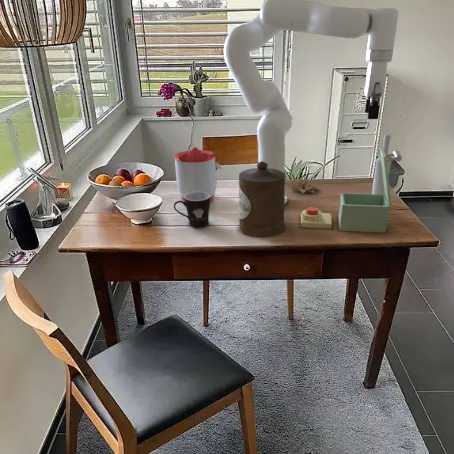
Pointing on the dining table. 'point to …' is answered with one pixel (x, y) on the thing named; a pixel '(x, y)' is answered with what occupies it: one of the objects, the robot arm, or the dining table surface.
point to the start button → (312, 211)
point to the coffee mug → (196, 208)
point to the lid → (385, 170)
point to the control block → (316, 220)
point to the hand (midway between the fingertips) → (371, 115)
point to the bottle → (378, 177)
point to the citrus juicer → (196, 172)
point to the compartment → (363, 212)
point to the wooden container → (261, 201)
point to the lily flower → (303, 187)
